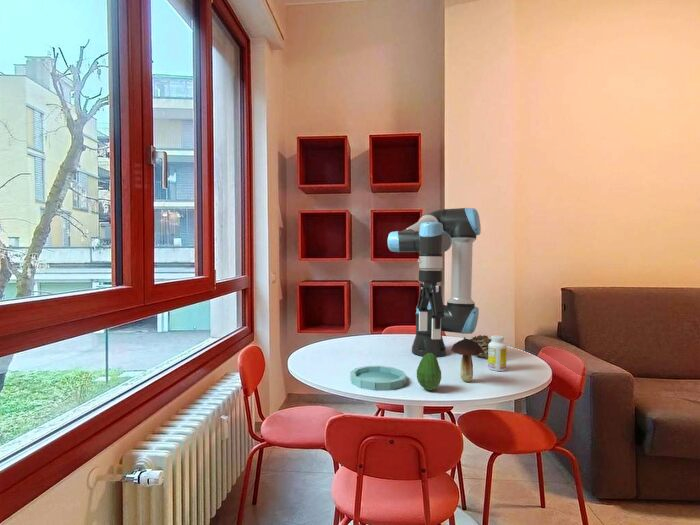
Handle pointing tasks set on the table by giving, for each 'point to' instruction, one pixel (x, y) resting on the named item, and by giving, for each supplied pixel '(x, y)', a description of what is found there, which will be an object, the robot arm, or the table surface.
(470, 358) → the decorative mushroom
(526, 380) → the table surface
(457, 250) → the robot arm
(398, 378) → the dish
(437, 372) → the avocado
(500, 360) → the supplement bottle
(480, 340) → the pine cone
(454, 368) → the table surface
